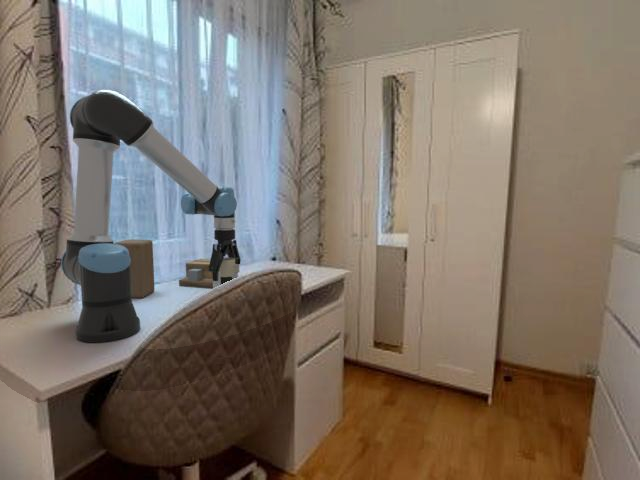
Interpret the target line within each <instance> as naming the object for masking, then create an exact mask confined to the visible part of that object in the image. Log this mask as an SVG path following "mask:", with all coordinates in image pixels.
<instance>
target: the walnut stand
mask: <svg viewBox="0 0 640 480" xmlns="http://www.w3.org/2000/svg"><path fill="white" fill-rule="evenodd" d="M210 260H211V258H210V259H209V258H198V259H195V260H191V261H188V262H186V263H185V277H183V278H180V279H179V280H178V286H179V287H188V288H198V289H199V288H201V289H210V290H211V289H212V288H213V273H212V272H210V271H209V270H208V269H209V264H210ZM191 269H202V270H203V279H201V280H198V281H191V280H188V270H191ZM212 290H213V289H212Z"/></svg>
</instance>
